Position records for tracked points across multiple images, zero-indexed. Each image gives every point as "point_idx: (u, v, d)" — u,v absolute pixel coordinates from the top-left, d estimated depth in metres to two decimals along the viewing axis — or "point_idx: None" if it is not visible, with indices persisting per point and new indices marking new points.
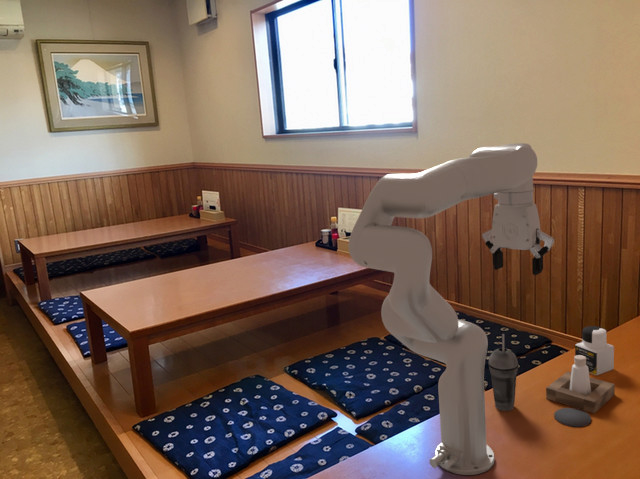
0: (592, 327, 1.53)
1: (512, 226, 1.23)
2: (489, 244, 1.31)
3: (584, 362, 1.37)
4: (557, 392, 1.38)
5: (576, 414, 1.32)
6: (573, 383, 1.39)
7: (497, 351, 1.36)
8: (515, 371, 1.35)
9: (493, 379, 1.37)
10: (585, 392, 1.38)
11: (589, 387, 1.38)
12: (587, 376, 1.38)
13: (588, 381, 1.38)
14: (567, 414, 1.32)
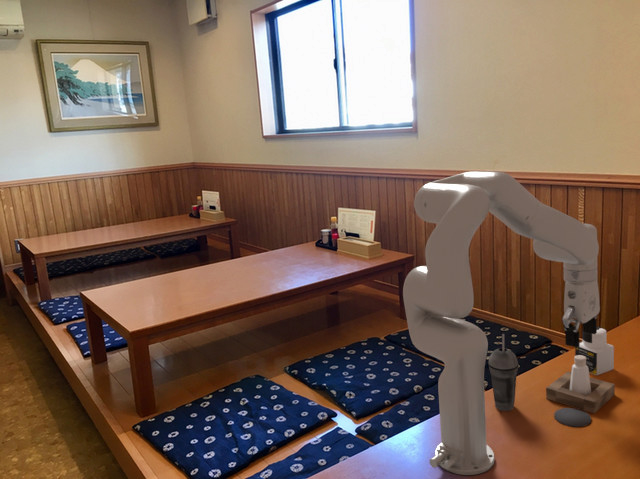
0: None
1: (593, 298, 1.34)
2: (572, 326, 1.32)
3: (584, 362, 1.37)
4: (557, 392, 1.38)
5: (576, 414, 1.32)
6: (573, 383, 1.39)
7: (497, 351, 1.36)
8: (515, 371, 1.35)
9: (493, 379, 1.37)
10: (585, 392, 1.38)
11: (589, 387, 1.38)
12: (587, 376, 1.38)
13: (588, 381, 1.38)
14: (567, 414, 1.32)
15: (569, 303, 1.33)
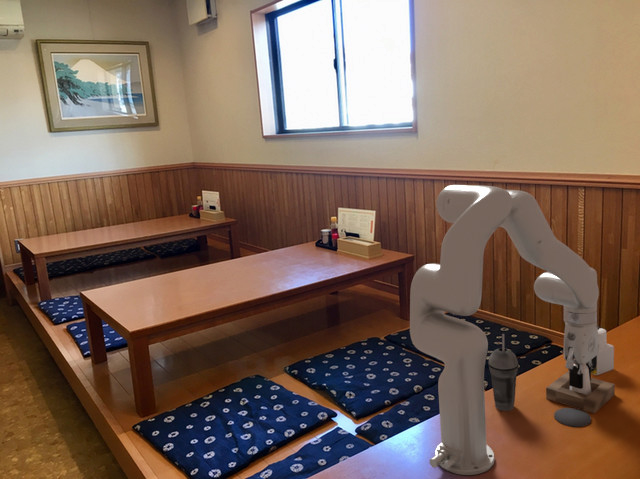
0: None
1: (592, 339, 1.36)
2: (576, 368, 1.35)
3: None
4: (557, 392, 1.38)
5: (576, 414, 1.32)
6: None
7: (497, 351, 1.36)
8: (515, 371, 1.35)
9: (493, 379, 1.37)
10: (585, 392, 1.38)
11: (589, 387, 1.38)
12: (587, 376, 1.38)
13: (588, 381, 1.38)
14: (567, 414, 1.32)
15: (569, 344, 1.35)
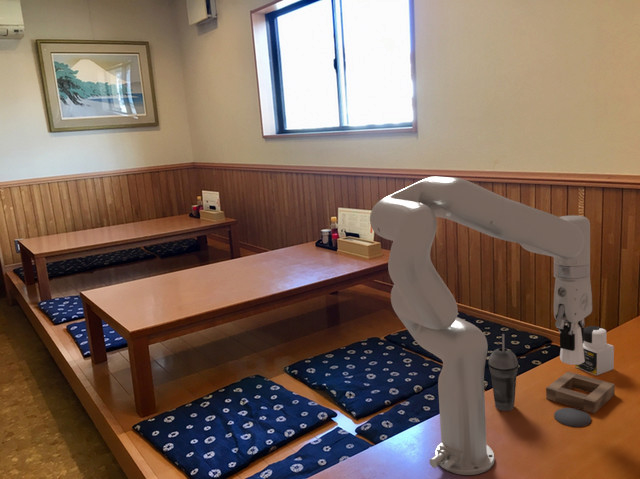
0: (592, 327, 1.53)
1: (585, 296, 1.24)
2: (567, 327, 1.23)
3: None
4: (557, 392, 1.38)
5: (576, 414, 1.32)
6: None
7: (497, 351, 1.36)
8: (515, 371, 1.35)
9: (493, 379, 1.37)
10: (577, 354, 1.26)
11: (582, 349, 1.26)
12: (579, 337, 1.26)
13: (581, 342, 1.26)
14: (567, 414, 1.32)
15: (559, 301, 1.22)
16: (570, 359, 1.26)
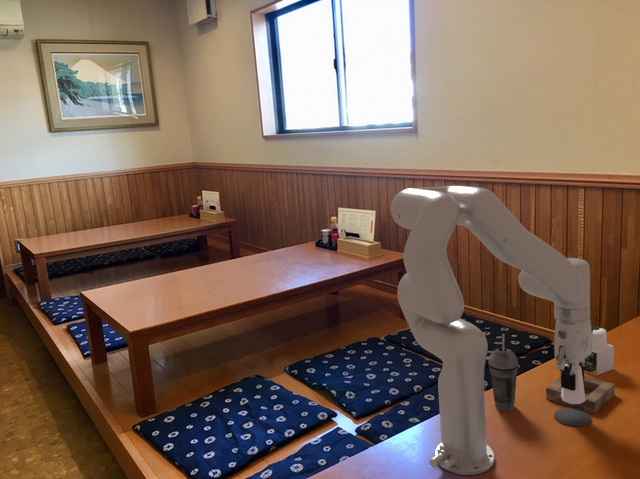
0: (592, 327, 1.53)
1: (585, 337, 1.26)
2: (568, 368, 1.25)
3: None
4: (557, 392, 1.38)
5: (576, 414, 1.32)
6: None
7: (497, 351, 1.36)
8: (515, 371, 1.35)
9: (493, 379, 1.37)
10: (578, 394, 1.28)
11: (582, 389, 1.28)
12: (580, 377, 1.28)
13: (581, 382, 1.28)
14: (567, 414, 1.32)
15: (560, 343, 1.24)
16: (571, 398, 1.28)
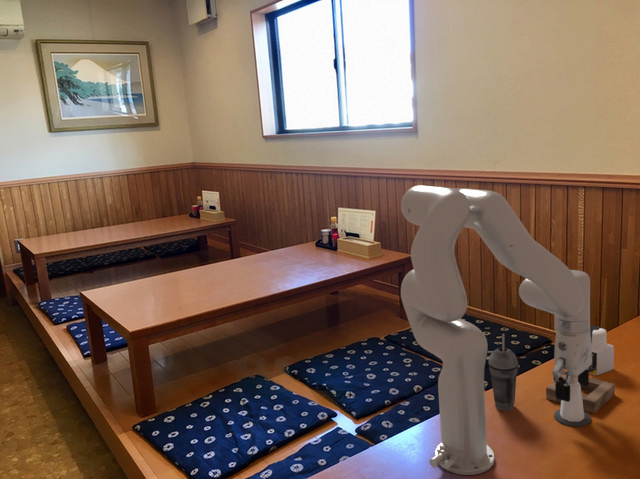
0: (592, 327, 1.53)
1: (585, 349, 1.26)
2: (562, 379, 1.24)
3: (576, 379, 1.28)
4: None
5: None
6: (565, 402, 1.30)
7: (497, 351, 1.36)
8: (515, 371, 1.35)
9: (493, 379, 1.37)
10: (577, 412, 1.28)
11: (581, 406, 1.29)
12: (579, 394, 1.28)
13: (580, 400, 1.29)
14: None
15: (560, 354, 1.25)
16: (571, 416, 1.29)
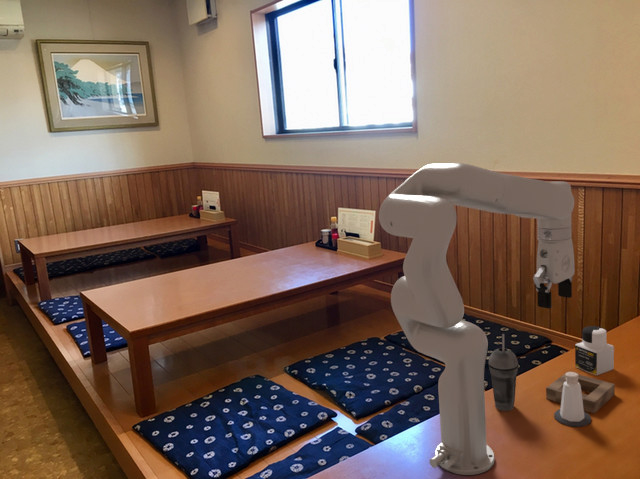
0: (592, 327, 1.53)
1: (566, 258, 1.30)
2: (543, 285, 1.28)
3: (576, 379, 1.28)
4: (557, 392, 1.38)
5: None
6: (565, 402, 1.30)
7: (497, 351, 1.36)
8: (515, 371, 1.35)
9: (493, 379, 1.37)
10: (577, 412, 1.28)
11: (582, 406, 1.29)
12: (579, 394, 1.28)
13: (580, 400, 1.29)
14: None
15: (542, 262, 1.29)
16: (571, 416, 1.29)
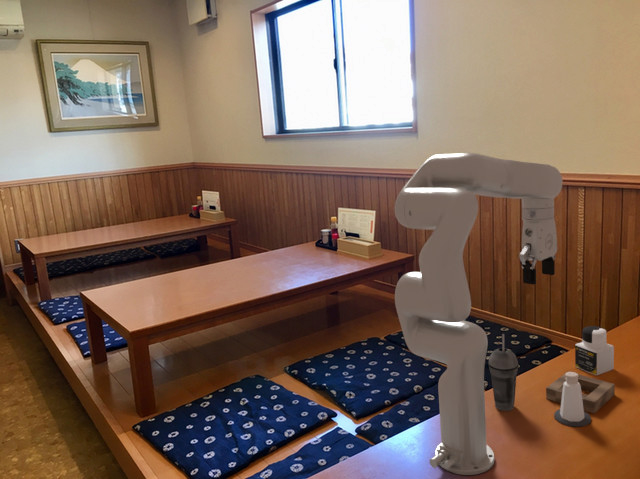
0: (592, 327, 1.53)
1: (550, 237, 1.38)
2: (528, 262, 1.36)
3: (576, 379, 1.28)
4: (557, 392, 1.38)
5: None
6: (565, 402, 1.30)
7: (497, 351, 1.36)
8: (515, 371, 1.35)
9: (493, 379, 1.37)
10: (577, 412, 1.28)
11: (582, 406, 1.29)
12: (579, 394, 1.28)
13: (580, 400, 1.29)
14: None
15: (526, 240, 1.36)
16: (571, 416, 1.29)
